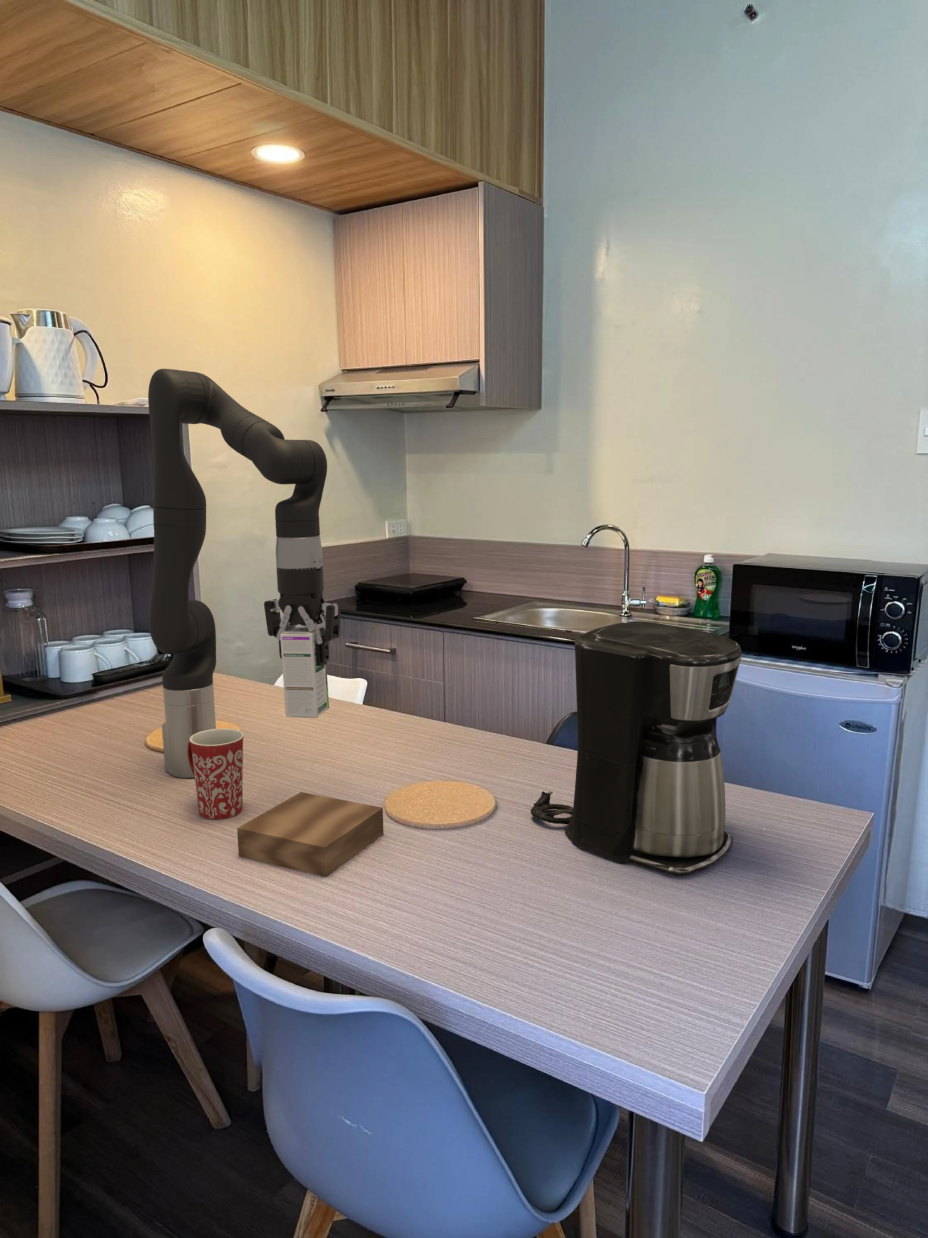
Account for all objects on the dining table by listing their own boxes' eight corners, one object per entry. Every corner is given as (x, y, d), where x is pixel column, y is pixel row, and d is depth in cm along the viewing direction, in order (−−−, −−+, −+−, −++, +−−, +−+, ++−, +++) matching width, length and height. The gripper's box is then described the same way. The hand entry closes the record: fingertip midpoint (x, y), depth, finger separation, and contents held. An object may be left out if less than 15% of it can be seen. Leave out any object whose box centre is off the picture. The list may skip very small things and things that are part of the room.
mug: (259, 810, 149) (254, 735, 147) (212, 826, 143) (207, 748, 140) (218, 792, 157) (214, 720, 155) (173, 807, 151) (167, 732, 148)
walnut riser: (238, 859, 132) (237, 828, 131) (302, 820, 146) (300, 792, 145) (326, 880, 125) (324, 847, 124) (383, 837, 139) (382, 807, 138)
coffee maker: (731, 887, 121) (743, 651, 115) (507, 858, 130) (506, 638, 124) (733, 823, 142) (742, 621, 136) (540, 802, 152) (541, 612, 146)
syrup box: (317, 718, 143) (313, 632, 140) (284, 717, 144) (279, 631, 141) (329, 709, 148) (325, 626, 146) (297, 707, 149) (292, 625, 147)
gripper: (249, 565, 141) (255, 664, 144) (323, 568, 135) (328, 672, 138) (278, 560, 148) (283, 655, 151) (349, 562, 142) (353, 662, 145)
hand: (304, 663), depth 145 cm, fingers closed on syrup box, 6 cm apart
